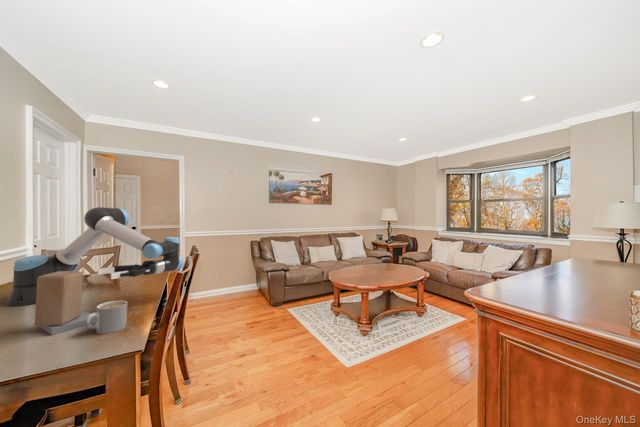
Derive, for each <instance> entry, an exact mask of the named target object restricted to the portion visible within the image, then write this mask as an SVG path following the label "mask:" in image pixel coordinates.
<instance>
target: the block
mask: <svg viewBox="0 0 640 427" xmlns="http://www.w3.org/2000/svg"><path fill="white" fill-rule="evenodd" d="M83 278H84V273H83V271H80V270H79V271H76V270H75V271H58V272H54V273H50V274H46V275H42V276H39V277H38V278H37V291H36V303H35V311H34V312H35V314H34V316H35V317H34V325H35V326H36V327H40V326H54V325H63V324H65V323H67V322H70V321H72V320H74V319H76V318H78V317H79V316H80V315H81V311H82V296H83V295H82V294H83Z"/></svg>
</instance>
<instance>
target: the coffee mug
mask: <svg viewBox="0 0 640 427" xmlns="http://www.w3.org/2000/svg"><path fill="white" fill-rule="evenodd" d="M93 317H96V322H95V323H94V324H90V320H91V319H92V318H93ZM127 317H128V301H126V300H113V301H112V300H111V301H106V302H103V303H100V304H98V305H97V306H96V312H93V313H90V315H88V316H87V317H86V320H85V325H86V326H85V327H86V328H87V329H89V330H90V329H91V330H95V333H96V334H97V335H98V334H99V335H102V334H103V335H105V334H112V333H115V332H119V331H122V330H123V329H125V328H126V327H127V323H128V322H127V320H128V319H127Z"/></svg>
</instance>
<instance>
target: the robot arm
mask: <svg viewBox="0 0 640 427" xmlns="http://www.w3.org/2000/svg"><path fill="white" fill-rule="evenodd" d="M83 220H84V223H85V225H86V226H87V227H88V228H87V229H86V230H85V231H84V232H82V233H81V234H80V235H79V236H78V237H77V238H76V239H74V240H73V241H72V242H70V244H69V245H68V246H66V247H65V248H63V249H62V248H61V249H59V250H57V251H55V253H54V254H52V255H51V256H47V255H46V254H42V255H41V254H38V255H31V256H25V257H21V258H19V259H16V260H15V261H14V265H13V267H12V268H13V277H12V278H13V281H12V290H11V292H10V293H9V295H8V297H7V300H6V306H9V307H19V306H20V307H21V306H28V305H29V306H30V305H33V304H34V305H36V291H37V278H38V277H39V276H42V275H46V274H50V273H54V272H58V271H76V270H77V269H78V268H79V266H80V263H81V257H83V256H84V255H85V254H86V253H87V252H89V250H90V249H92V247H94V246H95V245H96V244H98V243H99V242H100V241H101V240H102V239H103V238H104V237H105V236H106V235H108V236H110V237H113V238H115V239H116V240H118V241H120V242H122V243H124V244H126V245H128V246H131V247H132V248H135V249H137V250H139V251H140V252H142V254H143V256H144V257H145V258H147V259H149V260H145V261H143V262H142V264H141V265H140V264H136V263H135V264H127V265H126V264H125V265H113V266H111V267H103V268H98V269H97V272H96V274H97V275H99V276H100V275H106V274H110V280H115V279H121V278H122V279H123V278H128V277H132V278H135V277H139V276H141V275H143V276H149V275H154V274H157V275H159V274H161V273H167V272H174V271H178V270H181V269H182V268H183V266H184V261H183V260H184V259H183V258H182V257H181V256H179V254H180V238H179V237H176V236H173V237H172V236H167V237H164V241H156V240H155V239H152V238H150V237H148V236H146V235H144V234H142V233H140V232H138V231H136V230H134V229H132V228H130V227H128V226H127V225H129V222H130V214H129V213H128V211H126V210H125V209H123V208H119V207H101V206H100V207H99V206H98V207H93V208H91V209H89V210H88V211H86V213H85V214H84V219H83ZM160 257H163V258H160ZM157 258H159V259H157ZM150 259H151V260H150Z"/></svg>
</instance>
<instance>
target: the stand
mask: <svg viewBox="0 0 640 427" xmlns="http://www.w3.org/2000/svg"><path fill="white" fill-rule="evenodd" d="M90 314H91V313H90V312H88V311H86V310H81V315H80V316H79V317H78V318H76V319H74V320H72V321H70V322H67V323H65V324H63V325H54V326H39V328H41V329H42V330H43V331H44V332H47V333H48V334H49V335H50V336H54V335H55V336H56V335H57V334H61V333H65V332H68V331H72V330H76V329H79V328H83V327H86V325H85V320H86V317H87V316H88V315H90ZM95 322H96V317H93V318H92V319H91V320H90V324H91V325H93V324H94V323H95Z"/></svg>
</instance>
